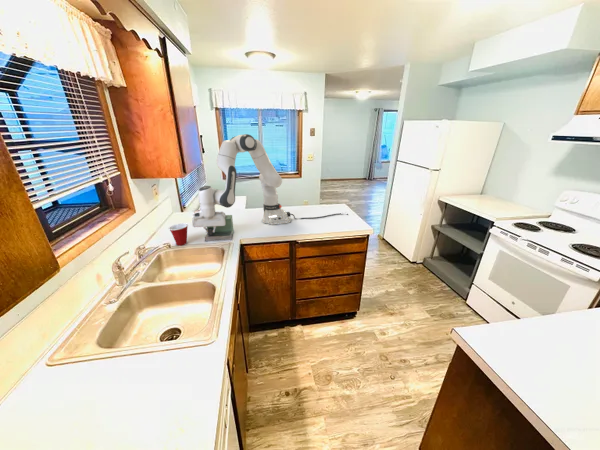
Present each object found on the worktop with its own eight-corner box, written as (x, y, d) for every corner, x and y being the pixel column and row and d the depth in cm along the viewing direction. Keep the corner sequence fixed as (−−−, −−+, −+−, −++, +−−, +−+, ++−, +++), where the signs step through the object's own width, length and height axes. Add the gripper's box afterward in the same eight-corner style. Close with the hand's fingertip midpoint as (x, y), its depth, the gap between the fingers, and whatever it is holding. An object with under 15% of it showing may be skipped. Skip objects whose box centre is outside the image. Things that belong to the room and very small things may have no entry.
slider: (213, 233, 157) (212, 227, 156) (212, 235, 154) (211, 229, 153) (209, 233, 157) (208, 227, 155) (208, 235, 154) (207, 229, 152)
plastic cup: (177, 240, 154) (174, 222, 150) (193, 240, 154) (191, 223, 149) (168, 247, 144) (164, 228, 140) (185, 247, 144) (182, 229, 139)
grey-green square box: (233, 230, 170) (232, 214, 166) (231, 239, 155) (229, 222, 151) (210, 231, 168) (208, 215, 163) (205, 241, 153) (203, 223, 149)
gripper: (225, 210, 155) (227, 229, 159) (192, 211, 151) (195, 231, 156) (224, 213, 149) (226, 233, 154) (189, 214, 146) (193, 235, 150)
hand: (210, 232), depth 155 cm, fingers closed on slider, 2 cm apart
